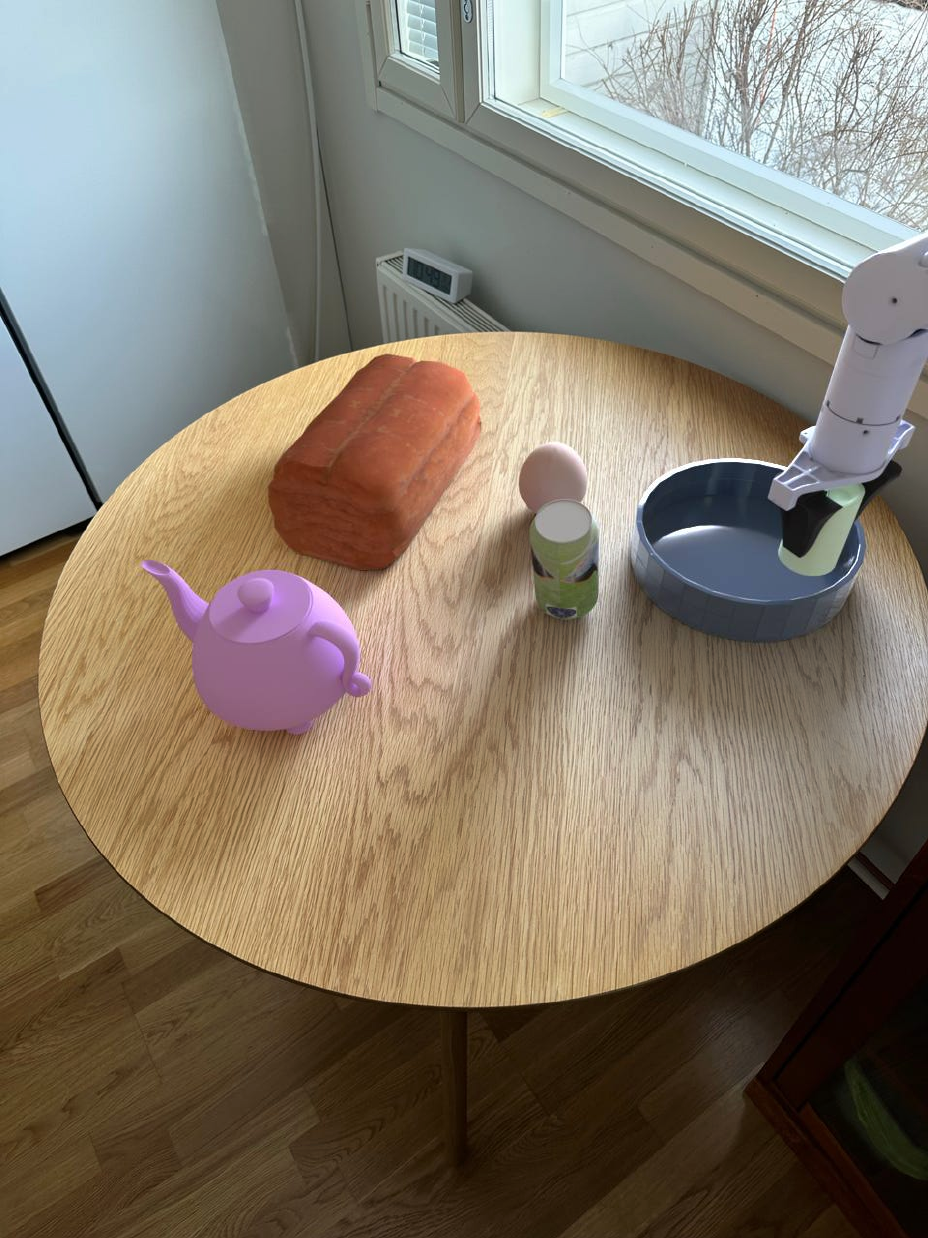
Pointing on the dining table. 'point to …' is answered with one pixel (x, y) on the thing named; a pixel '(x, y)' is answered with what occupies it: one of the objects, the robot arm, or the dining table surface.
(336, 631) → the teapot
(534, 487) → the egg
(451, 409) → the bread
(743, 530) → the bowl
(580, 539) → the beverage can
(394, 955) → the dining table surface
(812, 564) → the candle
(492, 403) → the dining table surface
